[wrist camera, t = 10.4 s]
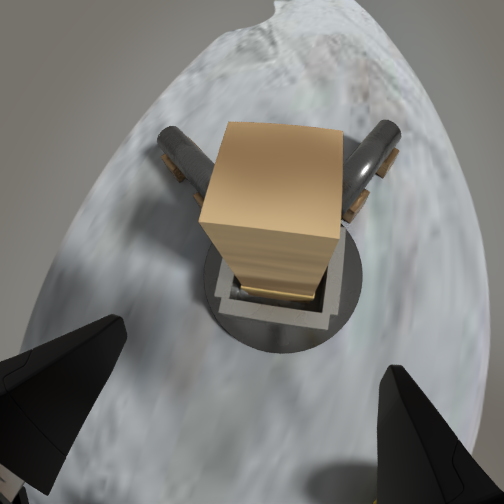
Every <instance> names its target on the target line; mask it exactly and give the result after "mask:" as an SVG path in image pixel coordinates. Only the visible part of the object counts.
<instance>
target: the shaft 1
mask: <svg viewBox="0 0 504 504" xmlns="http://www.w3.org/2000/svg"><path fill="white" fill-rule="evenodd" d="M157 143H158V145H159V147H160V148H161V149H162V150H163V151H164V152H165V154H164V155H162V156H161V158H162V160H163V161H164V163H165V164H166V166H167V168H168V169H169V170H170V172H171V173H172V174H173V175H174V176H175V178H176V179H177V180H178V181H179V182H181V181H182V180H184V179H185V178H187V179H188V180H189V181H190V183H191V184H192V185H193V186H194V187H195V188H196V190H197V191H198V192H197V193H196V194H194V195H193V196H194V198H195V200H196V202H197V203H198V205H199V207H200V208H201V209H202V207H203V203H204V200H205V196H206V193H207V189H208V186H209V182H210V179H211V176H212V172H213V169H214V166H215V164H214V163H213V162H212V161H211V160H210V159H209V158H208V157H207V156H206V155H205V154H204V153H203V152H202V150H201V149H200V148H199V147H198V146H197V145H196V144H195V143H194V142H193V141H192V140H191V139H190V138H189V137H187V136H186V135H185V134H184V133H183V132H182V131H181V130H180V129H179V128H178V127H176V126H169V127H167V128H165V129H164V130H162V131H161V132H160V134H159V136H158V138H157Z"/></svg>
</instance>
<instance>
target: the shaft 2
mask: <svg viewBox="0 0 504 504" xmlns="http://www.w3.org/2000/svg"><path fill="white" fill-rule="evenodd" d="M400 139H401V131H400V129H399V127H398V126H397V125H396V124H395V123H393V122H392V121H389V120H381V121H380V122H379V123H378V124H377V125H376V127H375V128H374V129H373V130H372V131H371V132H370V133H369V135H368V136H367V137H366V138H365V139H364V140H363V142H362V143H361V144H360V145H359V146H358V148H357V149H356V150H355V151H354V152H353V153H352V155H351V156H350V157H349V158H348V159H347V160H346V162H345V163H344V164H343V180H342V207H341V217H342V218H343V219H344V220H346V221H347V222H348V223H351V221H352V220H353V219H354V217H355V216H356V215H357V213H358V212H359V211H360V209H361V208H362V207H363V205H364V204H365V202H366V200H367V198H368V195H369V193H370V192H369V191H368V190H366V189H365V187H366V185H367V184H368V183H369V181H370V180H371V179H372V177H373V176H374V175H375V173H376V174H378V175H379V176H381V177H382V178H384V176H385V175H386V174H387V172H388V171H389V169H390V168H391V166H392V165H393V163H394V161H395V159H396V157H397V155H398V153H399V150H398V149H396V148H395V146H396V145H397V143H398V142H399V140H400Z"/></svg>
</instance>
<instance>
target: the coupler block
mask: <svg viewBox="0 0 504 504" xmlns="http://www.w3.org/2000/svg"><path fill="white" fill-rule="evenodd" d="M342 180H343V131H339V130H332V129H324V128H316V127H307V126H297V125H286V124H272V123H254V122H228V125H227V128H226V131H225V134H224V137H223V140H222V143H221V146H220V149H219V153H218V156H217V159H216V162H215V166H214V169H213V172H212V176H211V179H210V182H209V186H208V189H207V193H206V196H205V200H204V203H203V207H202V211H201V214H200V218H199V223H200V225H201V226H202V228H203V229H204V231H205V232H206V234H207V235H208V237H209V238H210V239H211V241H212V242H213V244H214V245H215V247H216V248H217V250H218V251H219V253H220V254H221V256H222V257H223V259H224V260H225V261H226V263H227V264H228V266H229V267H230V269H231V270H232V272H233V273H234V274H235V276H236V277H237V279H238V280H239V282H240V283H241V288H242V290H243V291H246V292H247V293H248V295H252V296H258V297H265V298H271V299H278V300H285V301H292V302H299V303H307V304H309V303H310V301H313V299H314V296H315V291H316V289H317V287H318V285H319V283H320V280H321V278H322V276H323V274H324V272H325V270H326V268H327V266H328V263H329V261H330V259H331V257H332V255H333V253H334V250H335V248H336V246H337V244H338V241H339V239H340V225H341V207H342Z"/></svg>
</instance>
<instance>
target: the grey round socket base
mask: <svg viewBox="0 0 504 504" xmlns="http://www.w3.org/2000/svg"><path fill="white" fill-rule="evenodd" d="M204 286H205V292H206V296H207V300H208V303H209V305H210V308H211V310H212V312H213V314H214V315H215V317H216V319H217V320H218V321H219V323H220V324H221V325H222V327H223V328H224V329H225V330H226V331H227V332H228V333H229V334H231V335H232V336H233V337H235V338H236V339H237V340H238V341H240V342H242V343H244V344H246V345H247V346H250V347H252V348H255V349H257V350H261V351H265V352H270V353H280V354H281V353H295V352H300V351H304V350H308V349H311V348H314V347H316V346H318V345H320V344H322V343H324V342H325V341H327V340H328V339H330V338H331V337H333V336H334V335H335V334H336V333H337V332H338V331H339V330H340V329H341V328H342V327H343V326H344V325H345V324H346V322H347V321H348V320H349V318H350V317H351V315H352V313H353V312H354V310H355V307H356V305H357V303H358V300H359V297H360V293H361V288H362V264H361V259H360V255H359V252H358V249H357V247H356V244H355V242H354V240H353V239H352V237H351V235H350V234H349V232H348V231H347V230H346V228H345V227H344V226H343V225H342V224H341V225H340V239H339V241H338V244H337V246H336V248H335V250H334V253H333V255H332V257H331V259H330V261H329V263H328V266H327V268H326V270H325V272H324V274H323V276H322V278H321V280H320V283H319V285H318V287H317V289H316V291H315V296H314V299H313V301H310V303H309V304H307V303H299V302H292V301H285V300H278V299H271V298H265V297H258V296H252V295H248V293H247V292H246V291H243V290H242V288H241V283H240V282H239V280H238V279H237V277H236V276H235V274H234V273H233V272H232V270H231V269H230V267H229V266H228V264H227V263H226V261H225V260H224V259H223V257H222V256H221V254H220V253H219V251H218V250H217V248H216V247H215V245H214V244H213V242H212V244H211V246H210V249H209V251H208V254H207V258H206V262H205V268H204Z"/></svg>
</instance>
